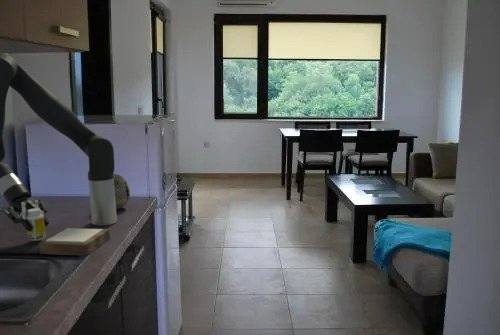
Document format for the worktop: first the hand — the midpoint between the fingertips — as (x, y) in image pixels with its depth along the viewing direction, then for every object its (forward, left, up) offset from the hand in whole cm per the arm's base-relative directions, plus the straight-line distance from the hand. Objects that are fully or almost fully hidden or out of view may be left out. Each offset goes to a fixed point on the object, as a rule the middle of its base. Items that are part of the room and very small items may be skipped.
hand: (39, 227), depth 165 cm
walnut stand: (+3, +14, -5) cm, 16 cm away
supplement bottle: (-1, -2, -4) cm, 5 cm away
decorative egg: (-44, +7, -6) cm, 45 cm away
